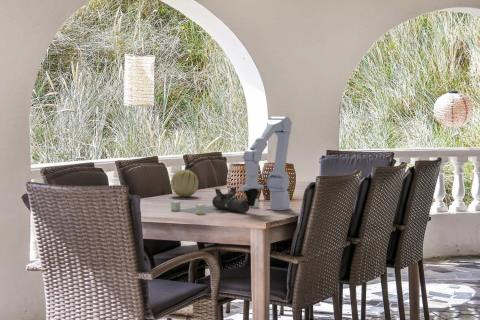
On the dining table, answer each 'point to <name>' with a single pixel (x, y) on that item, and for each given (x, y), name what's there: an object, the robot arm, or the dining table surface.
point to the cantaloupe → (184, 183)
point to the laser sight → (229, 201)
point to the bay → (207, 210)
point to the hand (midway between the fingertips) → (251, 205)
